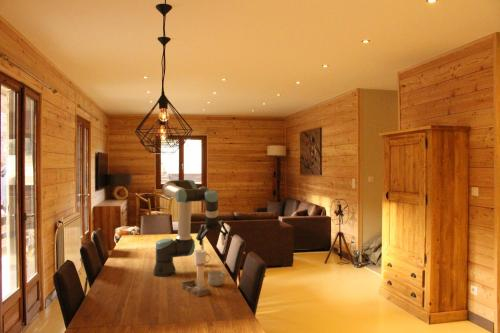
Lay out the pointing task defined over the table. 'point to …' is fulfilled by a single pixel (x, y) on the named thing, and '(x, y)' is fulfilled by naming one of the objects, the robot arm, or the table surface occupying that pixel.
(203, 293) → the track
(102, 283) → the table surface
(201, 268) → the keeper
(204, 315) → the table surface
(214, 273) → the teacup
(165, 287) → the table surface
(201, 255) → the mug
